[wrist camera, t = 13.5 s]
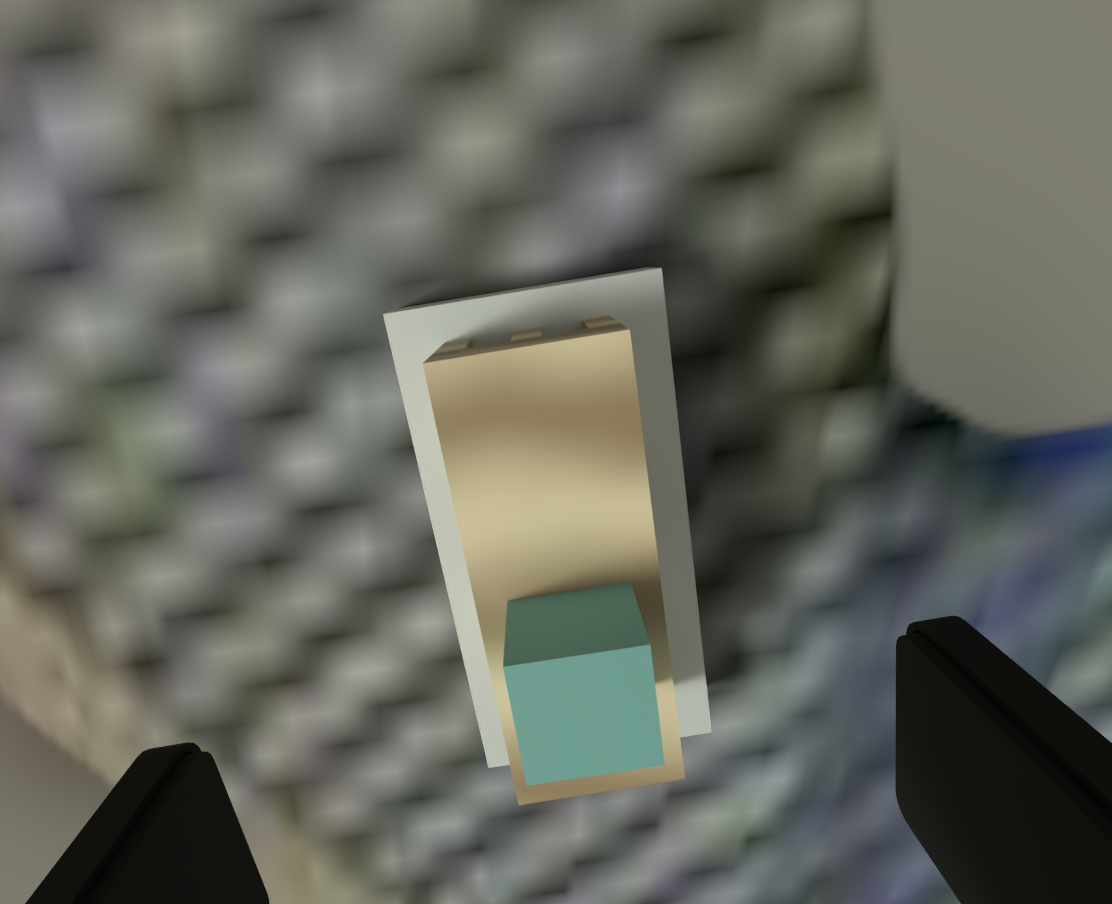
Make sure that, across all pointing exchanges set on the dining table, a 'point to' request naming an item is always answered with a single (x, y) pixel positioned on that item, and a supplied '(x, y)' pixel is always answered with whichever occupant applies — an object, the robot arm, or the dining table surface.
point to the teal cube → (581, 684)
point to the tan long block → (553, 499)
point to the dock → (644, 313)
